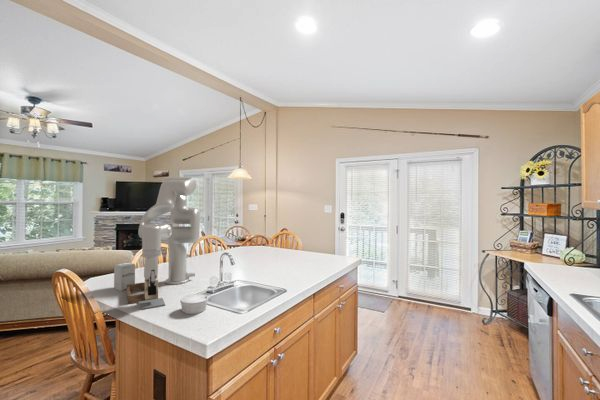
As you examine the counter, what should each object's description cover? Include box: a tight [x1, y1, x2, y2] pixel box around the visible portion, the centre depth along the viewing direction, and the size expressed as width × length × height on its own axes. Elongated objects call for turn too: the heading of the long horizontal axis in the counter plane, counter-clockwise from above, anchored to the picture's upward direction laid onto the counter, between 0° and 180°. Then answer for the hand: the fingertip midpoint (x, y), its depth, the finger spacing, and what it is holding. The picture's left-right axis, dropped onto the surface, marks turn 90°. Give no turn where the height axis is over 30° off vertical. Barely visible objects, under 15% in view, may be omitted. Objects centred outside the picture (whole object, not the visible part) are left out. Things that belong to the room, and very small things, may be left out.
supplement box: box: [113, 262, 136, 291], centre depth 154 cm, size 7×7×13 cm
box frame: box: [126, 281, 157, 305], centre depth 143 cm, size 12×20×4 cm, turn 32°
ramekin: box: [179, 293, 209, 315], centre depth 124 cm, size 11×11×5 cm
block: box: [144, 278, 159, 300], centre depth 130 cm, size 5×5×8 cm
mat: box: [137, 297, 166, 311], centre depth 131 cm, size 10×10×1 cm
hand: (151, 292), depth 131 cm, fingers closed on block, 5 cm apart
